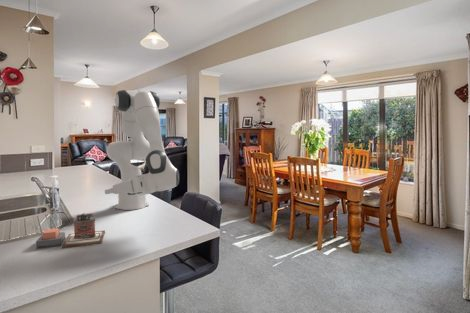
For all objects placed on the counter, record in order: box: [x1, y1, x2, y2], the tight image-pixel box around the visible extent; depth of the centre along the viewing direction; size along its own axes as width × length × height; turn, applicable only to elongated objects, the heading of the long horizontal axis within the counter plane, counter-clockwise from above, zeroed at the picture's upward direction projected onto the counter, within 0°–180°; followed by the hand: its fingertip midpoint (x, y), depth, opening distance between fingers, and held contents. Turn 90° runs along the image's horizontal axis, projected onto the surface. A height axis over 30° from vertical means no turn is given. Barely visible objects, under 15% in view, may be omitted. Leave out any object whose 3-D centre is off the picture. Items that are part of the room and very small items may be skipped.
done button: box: [42, 227, 60, 239], centre depth 113 cm, size 4×4×3 cm
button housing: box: [35, 231, 66, 250], centre depth 113 cm, size 8×8×3 cm
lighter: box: [72, 212, 96, 239], centre depth 117 cm, size 8×3×10 cm, turn 105°
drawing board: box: [61, 230, 106, 249], centre depth 117 cm, size 13×14×1 cm
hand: (109, 192), depth 120 cm, fingers open, 8 cm apart
